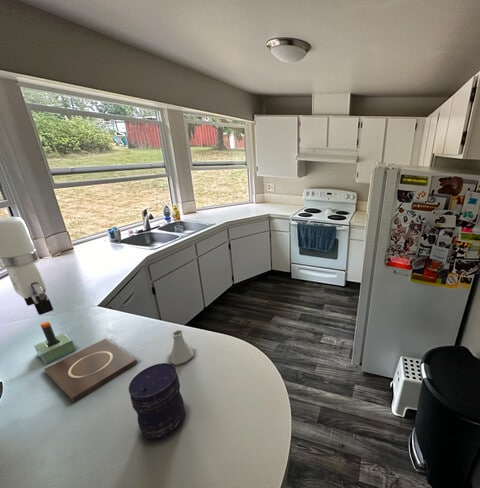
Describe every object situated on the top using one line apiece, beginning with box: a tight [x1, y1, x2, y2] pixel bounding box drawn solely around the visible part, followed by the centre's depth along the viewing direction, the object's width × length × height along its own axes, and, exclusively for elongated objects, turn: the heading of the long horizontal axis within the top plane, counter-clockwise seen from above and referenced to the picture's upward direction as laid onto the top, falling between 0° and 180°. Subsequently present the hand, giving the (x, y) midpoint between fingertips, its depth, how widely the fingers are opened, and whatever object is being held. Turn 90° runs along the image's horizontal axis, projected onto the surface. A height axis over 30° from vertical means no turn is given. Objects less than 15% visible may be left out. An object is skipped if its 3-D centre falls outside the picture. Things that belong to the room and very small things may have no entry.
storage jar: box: [128, 362, 187, 443], centre depth 62 cm, size 10×10×15 cm
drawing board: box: [43, 337, 138, 403], centre depth 80 cm, size 16×20×2 cm
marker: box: [40, 321, 58, 347], centre depth 83 cm, size 2×2×12 cm
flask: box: [169, 329, 194, 366], centre depth 84 cm, size 7×7×10 cm
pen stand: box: [33, 333, 76, 365], centre depth 85 cm, size 7×7×4 cm
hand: (40, 307), depth 80 cm, fingers open, 9 cm apart
